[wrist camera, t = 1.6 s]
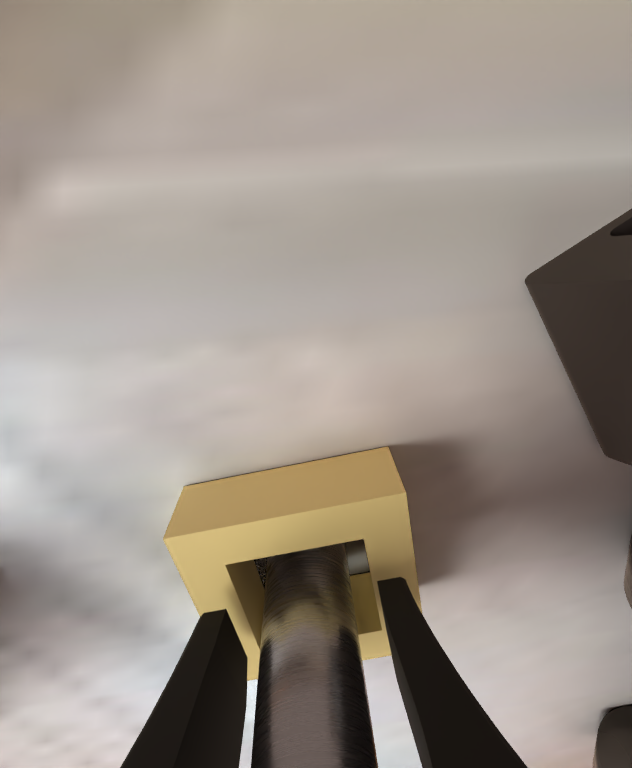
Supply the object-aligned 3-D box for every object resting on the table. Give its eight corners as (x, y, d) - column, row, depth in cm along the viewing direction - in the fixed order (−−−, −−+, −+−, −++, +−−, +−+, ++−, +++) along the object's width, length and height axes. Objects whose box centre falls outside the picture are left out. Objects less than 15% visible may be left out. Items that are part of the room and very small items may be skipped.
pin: (269, 586, 13) (238, 1056, 6) (244, 513, 12) (164, 999, 5) (363, 568, 13) (450, 1025, 6) (347, 493, 12) (433, 958, 5)
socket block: (240, 621, 14) (232, 683, 12) (183, 486, 12) (163, 538, 10) (409, 590, 14) (426, 648, 12) (388, 446, 11) (406, 492, 9)
